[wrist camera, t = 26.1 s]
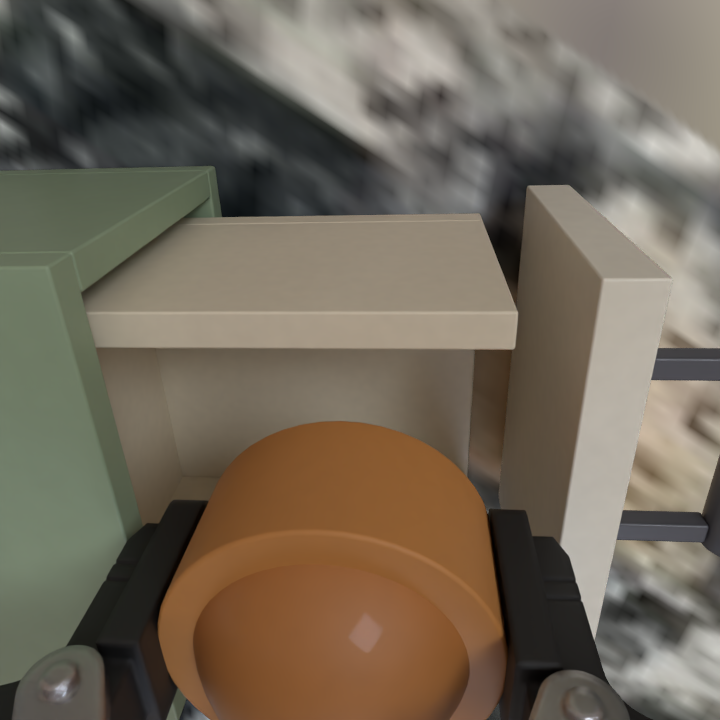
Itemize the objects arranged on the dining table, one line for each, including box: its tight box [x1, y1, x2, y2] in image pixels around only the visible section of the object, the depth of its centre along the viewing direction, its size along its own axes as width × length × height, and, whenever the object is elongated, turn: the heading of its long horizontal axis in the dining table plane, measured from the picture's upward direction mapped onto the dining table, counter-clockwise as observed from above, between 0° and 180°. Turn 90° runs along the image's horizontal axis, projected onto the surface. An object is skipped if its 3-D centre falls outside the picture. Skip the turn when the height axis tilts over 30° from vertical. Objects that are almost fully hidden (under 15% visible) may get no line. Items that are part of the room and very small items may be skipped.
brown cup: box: [158, 421, 508, 720], centre depth 11 cm, size 6×6×5 cm
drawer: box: [81, 185, 720, 640], centre depth 17 cm, size 18×11×8 cm, turn 92°
